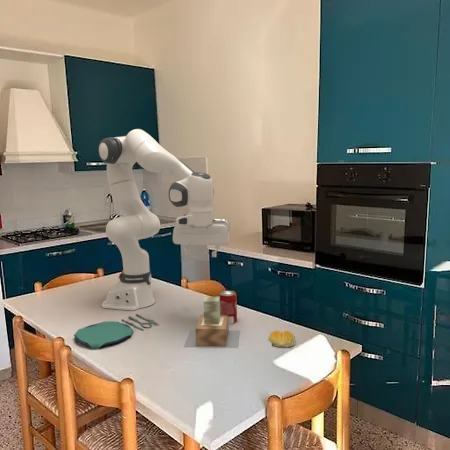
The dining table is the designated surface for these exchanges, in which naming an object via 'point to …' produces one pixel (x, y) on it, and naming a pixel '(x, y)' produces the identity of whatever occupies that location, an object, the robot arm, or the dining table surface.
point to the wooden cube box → (212, 332)
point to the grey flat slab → (231, 343)
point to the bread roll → (282, 339)
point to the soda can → (228, 306)
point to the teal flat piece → (108, 332)
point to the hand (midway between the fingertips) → (201, 256)
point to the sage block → (211, 310)
